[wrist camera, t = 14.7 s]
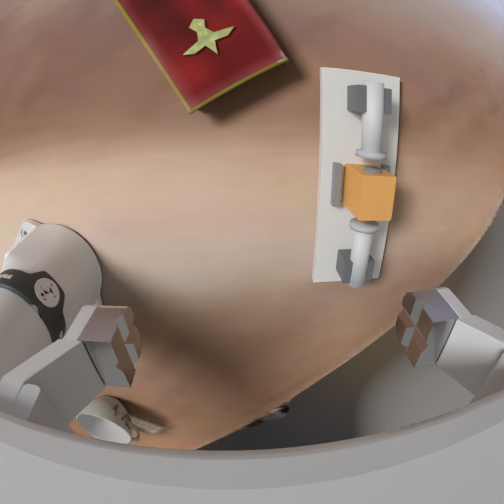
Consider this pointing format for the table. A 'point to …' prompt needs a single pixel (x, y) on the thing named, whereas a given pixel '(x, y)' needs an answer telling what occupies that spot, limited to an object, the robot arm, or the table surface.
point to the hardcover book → (204, 44)
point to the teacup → (107, 420)
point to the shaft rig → (352, 152)
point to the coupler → (368, 192)
